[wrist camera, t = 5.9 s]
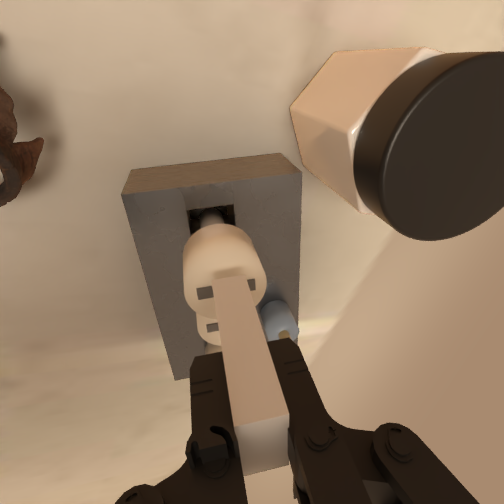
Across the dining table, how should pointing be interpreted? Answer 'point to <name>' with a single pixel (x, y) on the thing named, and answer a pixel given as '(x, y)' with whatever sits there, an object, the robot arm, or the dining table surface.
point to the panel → (182, 228)
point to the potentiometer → (278, 321)
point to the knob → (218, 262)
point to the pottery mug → (14, 153)
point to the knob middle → (208, 329)
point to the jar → (408, 136)
